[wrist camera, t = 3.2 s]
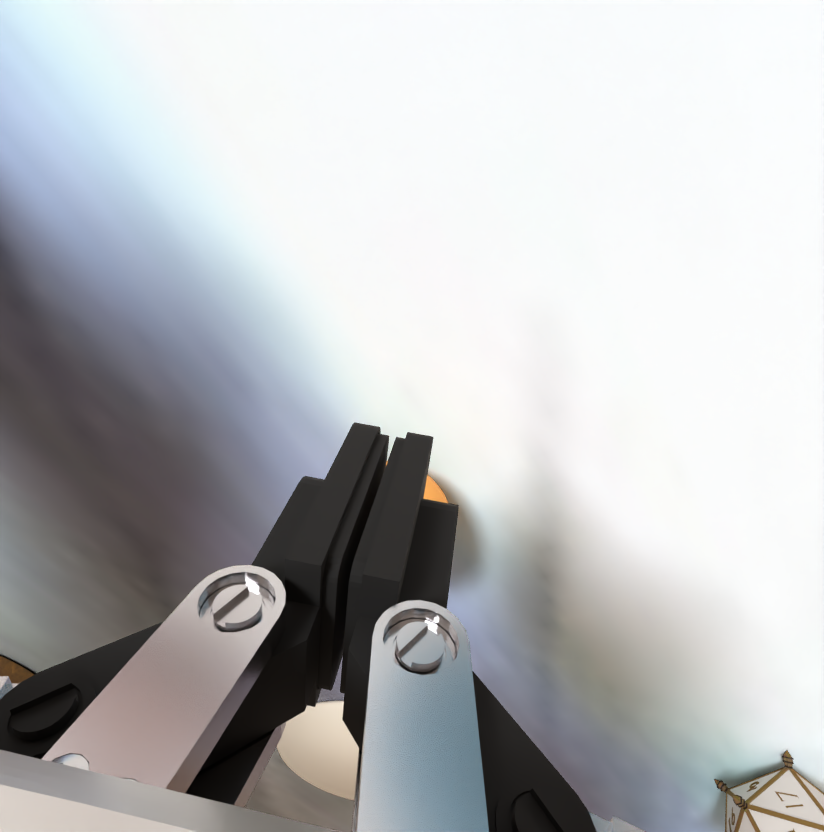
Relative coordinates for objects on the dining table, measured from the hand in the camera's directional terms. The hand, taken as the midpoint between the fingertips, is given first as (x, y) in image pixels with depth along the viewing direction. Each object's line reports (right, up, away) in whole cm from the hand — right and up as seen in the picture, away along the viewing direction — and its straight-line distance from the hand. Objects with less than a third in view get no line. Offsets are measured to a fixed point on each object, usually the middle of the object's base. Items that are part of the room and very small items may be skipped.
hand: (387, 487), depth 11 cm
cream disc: (-3, -23, +28) cm, 36 cm away
